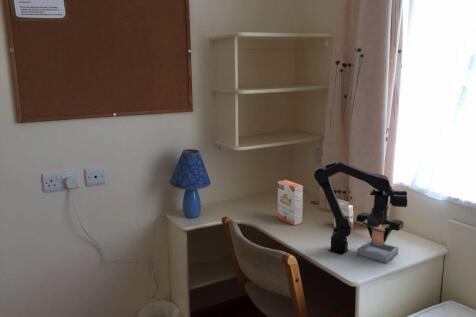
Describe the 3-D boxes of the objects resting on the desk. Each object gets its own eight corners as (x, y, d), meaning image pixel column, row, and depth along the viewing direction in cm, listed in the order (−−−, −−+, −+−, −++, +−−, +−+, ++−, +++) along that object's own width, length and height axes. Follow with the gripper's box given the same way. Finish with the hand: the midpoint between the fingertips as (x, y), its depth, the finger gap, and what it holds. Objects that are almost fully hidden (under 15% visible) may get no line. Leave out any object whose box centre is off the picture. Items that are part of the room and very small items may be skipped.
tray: (356, 255, 188) (357, 248, 188) (369, 246, 198) (370, 239, 197) (386, 263, 180) (386, 257, 179) (398, 253, 190) (398, 247, 189)
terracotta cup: (369, 243, 187) (370, 229, 186) (374, 239, 192) (375, 226, 190) (381, 246, 184) (382, 232, 183) (386, 242, 188) (387, 229, 187)
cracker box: (276, 218, 235) (277, 180, 231) (285, 216, 238) (286, 179, 234) (293, 226, 223) (294, 186, 219) (302, 223, 227) (303, 184, 222)
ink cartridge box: (353, 227, 220) (354, 200, 217) (348, 230, 217) (349, 202, 214) (338, 223, 226) (339, 196, 223) (333, 226, 223) (334, 198, 220)
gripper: (351, 205, 184) (349, 240, 187) (395, 214, 172) (392, 251, 176) (362, 199, 192) (361, 232, 196) (405, 207, 181) (402, 243, 184)
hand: (378, 239), depth 187 cm, fingers closed on terracotta cup, 5 cm apart
